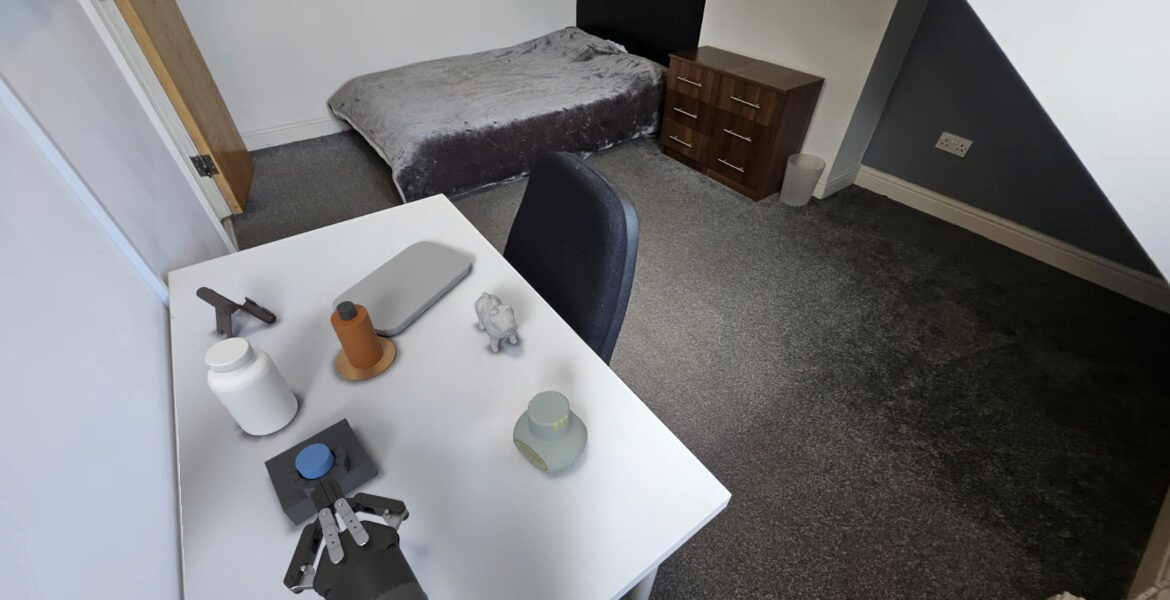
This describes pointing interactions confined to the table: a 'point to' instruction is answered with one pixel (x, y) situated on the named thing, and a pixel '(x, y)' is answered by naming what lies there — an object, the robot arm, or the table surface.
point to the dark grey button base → (346, 470)
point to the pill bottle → (250, 386)
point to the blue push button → (314, 461)
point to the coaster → (366, 373)
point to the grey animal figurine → (496, 319)
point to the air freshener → (550, 432)
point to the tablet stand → (232, 310)
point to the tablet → (406, 285)
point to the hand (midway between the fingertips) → (322, 484)
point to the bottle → (356, 334)
